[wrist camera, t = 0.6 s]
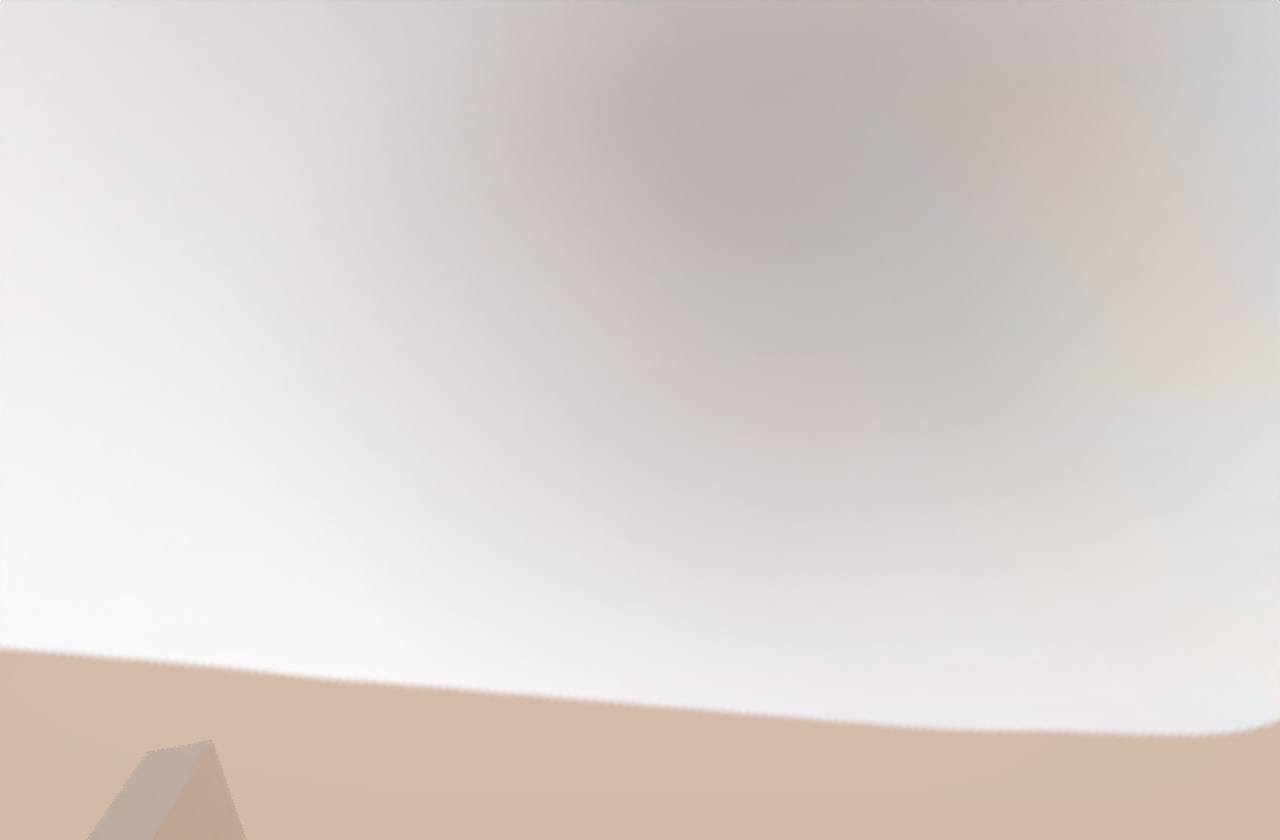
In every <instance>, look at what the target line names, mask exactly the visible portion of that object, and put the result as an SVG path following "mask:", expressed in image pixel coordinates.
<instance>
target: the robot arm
mask: <svg viewBox="0 0 1280 840" xmlns="http://www.w3.org/2000/svg"><path fill="white" fill-rule="evenodd" d="M87 840H246V837H245V834H244V831H243V828H242V825H241V823H240V820H239V817H238V814H237V811H236V808H235V805H234V802H233V799H232V797H231V794H230V791H229V788H228V785H227V783H226V779H225V777H224V773H223V770H222V768H221V765H220V762H219V759H218V756H217V753H216V750H215V747H214V744H213V742H212V740H209V741H204V742H199V743H194V744H188V745H183V746H178V747H173V748H167V749H162V750H157V751H152V752H147V753H146V754H145V756H144V757H143V759H142V760H141V762H140V763H139V764H138V766H137V768H136V769H135V771H134V772H133V773H132V775H131V776H130V778H129V779H128V780H127V782H126V783H125V785H124V786H123V788H122V789H121V791H120V792H119V794H118V795H117V796H116V798H115V799H114V801H113V802H112V804H111V805H110V807H109V808H108V810H107V811H106V813H105V814H104V815H103V817H102V818H101V820H100V821H99V823H98V824H97V826H96V827H95V829H94V830H93V831H92V833H91V834H90V836H89V837H88V839H87Z"/></svg>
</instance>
